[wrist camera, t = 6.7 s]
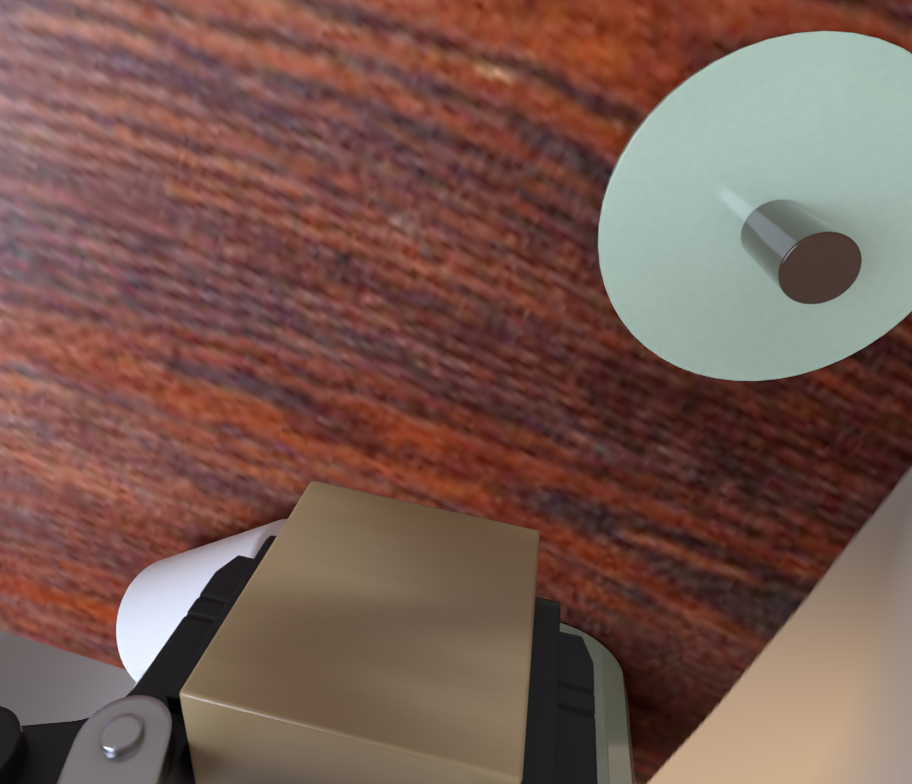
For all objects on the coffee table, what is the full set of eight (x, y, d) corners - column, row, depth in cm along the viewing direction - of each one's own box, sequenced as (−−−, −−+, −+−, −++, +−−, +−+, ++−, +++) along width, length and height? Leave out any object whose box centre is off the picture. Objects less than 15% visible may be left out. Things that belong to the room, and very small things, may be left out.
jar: (648, 641, 37) (673, 829, 28) (599, 749, 43) (606, 931, 34) (454, 598, 38) (419, 765, 29) (434, 710, 44) (399, 876, 35)
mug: (361, 583, 39) (285, 773, 28) (245, 615, 42) (140, 793, 32) (290, 489, 36) (177, 663, 25) (171, 532, 39) (30, 699, 29)
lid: (1040, 61, 20) (1209, 61, 15) (856, 394, 27) (927, 476, 22) (647, 7, 21) (674, -11, 16) (566, 340, 28) (565, 405, 23)
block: (540, 529, 11) (523, 782, 7) (500, 675, 13) (470, 928, 9) (310, 478, 11) (176, 692, 8) (309, 629, 14) (205, 853, 10)
